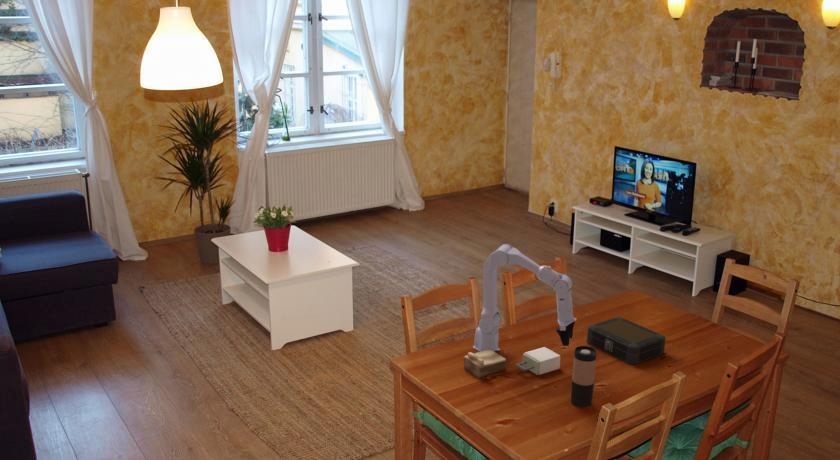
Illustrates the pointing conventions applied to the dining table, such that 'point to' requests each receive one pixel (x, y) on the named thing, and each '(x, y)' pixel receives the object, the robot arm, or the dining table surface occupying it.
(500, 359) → the box lid
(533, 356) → the white cabinet
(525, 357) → the drawer
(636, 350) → the cash box
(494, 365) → the walnut box
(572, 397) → the travel mug
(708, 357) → the dining table surface
